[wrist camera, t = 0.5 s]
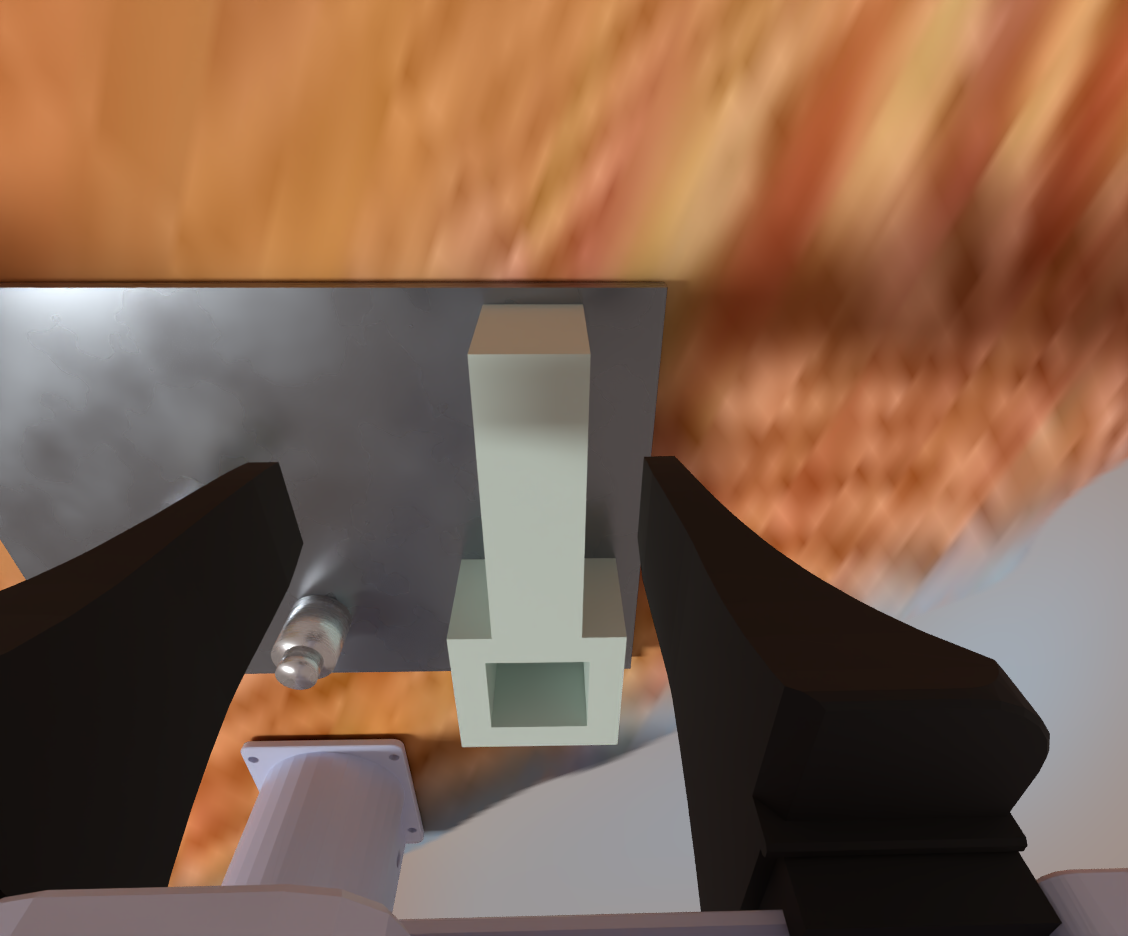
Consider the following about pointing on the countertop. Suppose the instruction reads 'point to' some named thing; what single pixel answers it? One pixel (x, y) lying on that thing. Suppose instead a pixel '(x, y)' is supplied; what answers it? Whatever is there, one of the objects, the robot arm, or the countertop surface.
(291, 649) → the silver calibration weight
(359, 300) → the base plate
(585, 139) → the countertop surface
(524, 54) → the countertop surface
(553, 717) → the link
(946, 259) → the countertop surface
